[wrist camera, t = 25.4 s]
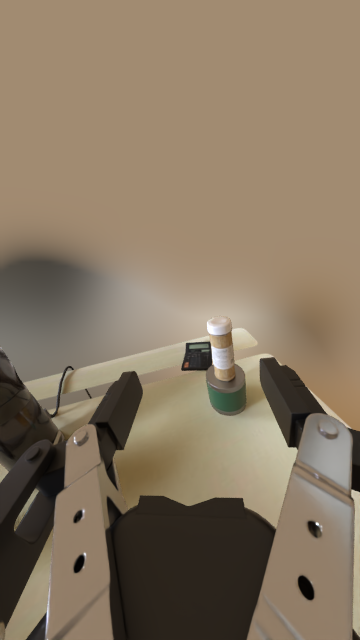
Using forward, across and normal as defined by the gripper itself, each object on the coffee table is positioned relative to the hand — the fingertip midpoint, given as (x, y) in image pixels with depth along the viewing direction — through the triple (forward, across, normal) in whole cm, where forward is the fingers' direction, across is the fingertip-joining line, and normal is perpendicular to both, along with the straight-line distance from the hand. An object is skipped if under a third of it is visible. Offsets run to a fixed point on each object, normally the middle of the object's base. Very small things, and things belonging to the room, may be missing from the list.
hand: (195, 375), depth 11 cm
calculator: (+38, +4, +28) cm, 48 cm away
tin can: (+21, -3, +28) cm, 35 cm away
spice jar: (+21, -3, +20) cm, 29 cm away
